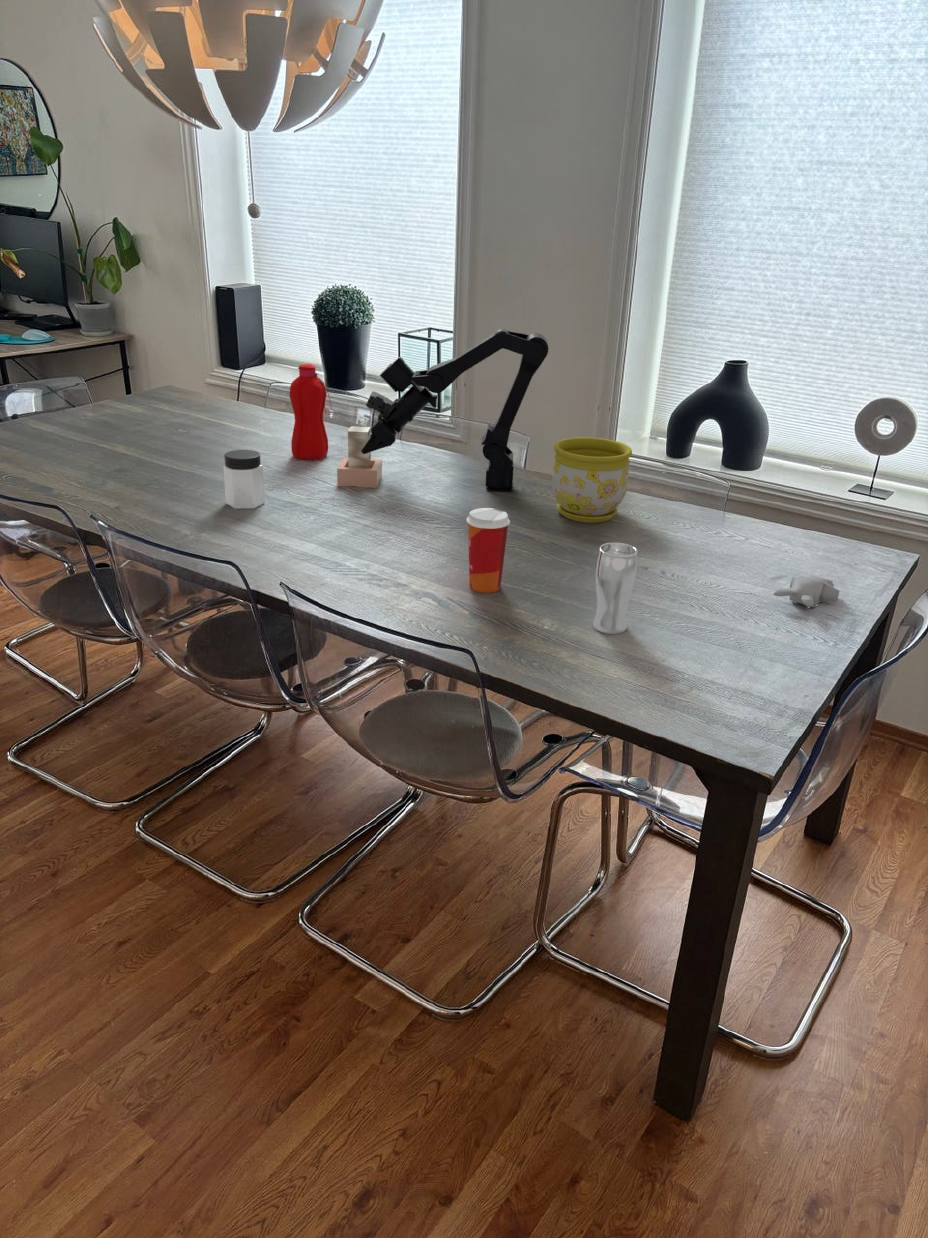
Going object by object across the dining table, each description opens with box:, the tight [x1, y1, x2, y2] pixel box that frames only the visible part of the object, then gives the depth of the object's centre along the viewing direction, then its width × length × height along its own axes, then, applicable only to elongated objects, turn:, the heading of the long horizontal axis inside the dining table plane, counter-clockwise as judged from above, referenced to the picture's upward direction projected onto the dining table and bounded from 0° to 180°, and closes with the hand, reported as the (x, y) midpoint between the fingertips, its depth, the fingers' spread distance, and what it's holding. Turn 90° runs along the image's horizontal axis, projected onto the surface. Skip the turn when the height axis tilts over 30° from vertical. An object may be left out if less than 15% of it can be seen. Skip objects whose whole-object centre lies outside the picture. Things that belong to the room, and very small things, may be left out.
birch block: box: [347, 426, 372, 469], centre depth 241 cm, size 5×5×12 cm
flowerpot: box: [551, 436, 633, 524], centre depth 223 cm, size 18×18×16 cm
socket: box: [336, 457, 383, 489], centre depth 243 cm, size 10×10×4 cm
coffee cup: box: [466, 507, 511, 594], centre depth 182 cm, size 8×8×15 cm
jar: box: [222, 449, 266, 510], centre depth 222 cm, size 9×8×12 cm
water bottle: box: [288, 363, 332, 461], centre depth 257 cm, size 9×11×25 cm
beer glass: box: [592, 542, 638, 635], centre depth 168 cm, size 7×7×15 cm
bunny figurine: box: [773, 574, 841, 608], centre depth 183 cm, size 10×5×15 cm
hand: (365, 447), depth 240 cm, fingers open, 9 cm apart
